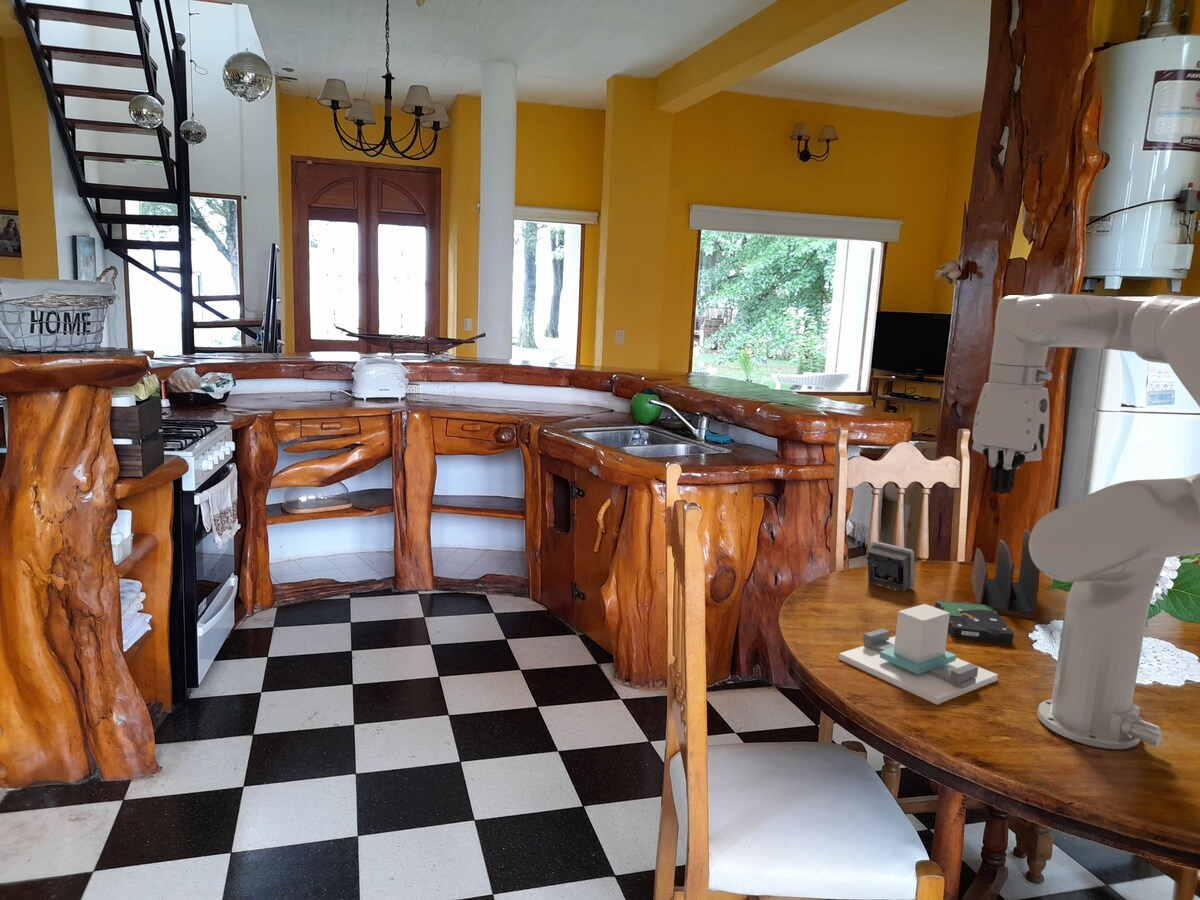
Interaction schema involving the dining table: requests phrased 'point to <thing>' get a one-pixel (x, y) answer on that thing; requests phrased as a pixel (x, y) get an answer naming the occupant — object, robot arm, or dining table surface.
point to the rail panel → (927, 685)
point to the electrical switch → (891, 566)
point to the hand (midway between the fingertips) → (1000, 492)
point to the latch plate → (914, 666)
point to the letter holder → (1007, 582)
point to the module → (921, 633)
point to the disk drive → (976, 622)
